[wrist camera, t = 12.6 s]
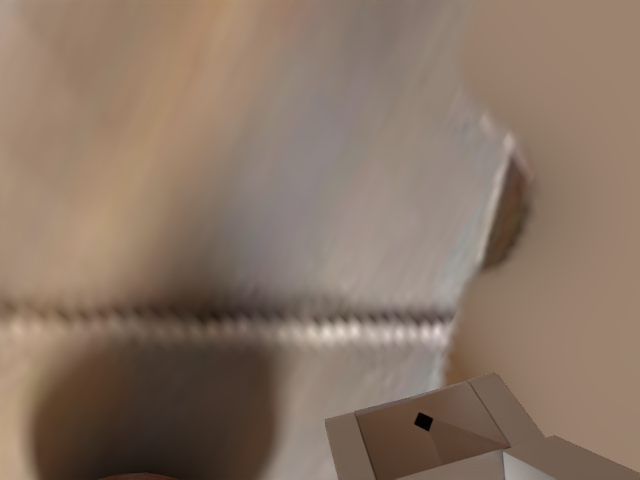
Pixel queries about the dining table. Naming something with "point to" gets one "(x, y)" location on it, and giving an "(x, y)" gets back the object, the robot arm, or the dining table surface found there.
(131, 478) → the jug
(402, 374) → the dining table surface
